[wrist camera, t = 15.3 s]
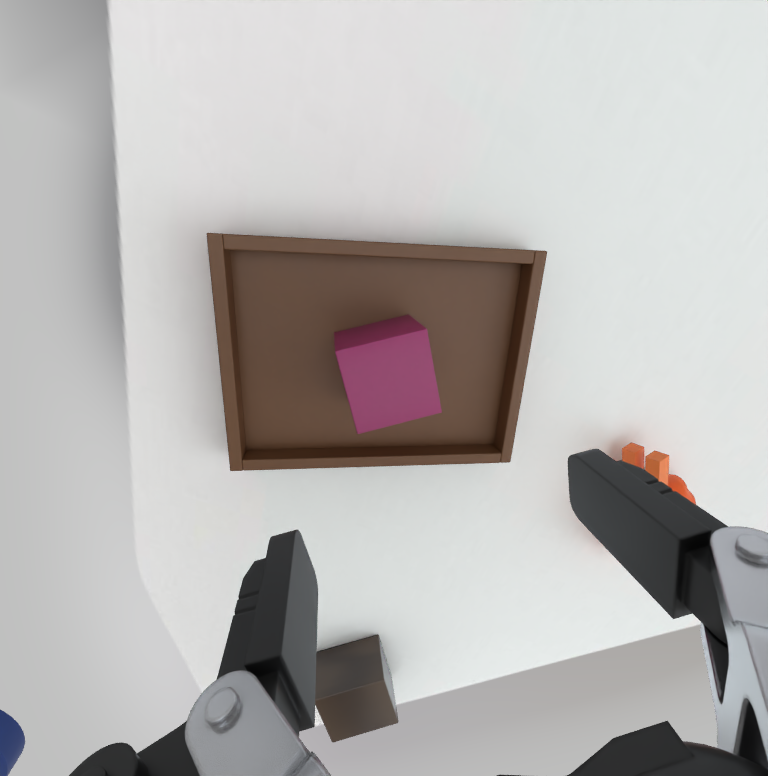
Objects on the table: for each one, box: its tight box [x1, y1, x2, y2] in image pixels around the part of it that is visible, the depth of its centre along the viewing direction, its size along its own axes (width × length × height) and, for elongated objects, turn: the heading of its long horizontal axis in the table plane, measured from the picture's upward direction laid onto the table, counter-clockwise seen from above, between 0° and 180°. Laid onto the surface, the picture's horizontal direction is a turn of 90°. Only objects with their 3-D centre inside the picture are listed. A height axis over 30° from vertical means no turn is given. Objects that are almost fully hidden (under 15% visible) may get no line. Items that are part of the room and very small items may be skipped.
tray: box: [207, 233, 547, 471], centre depth 25 cm, size 20×15×2 cm
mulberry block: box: [334, 314, 442, 434], centre depth 23 cm, size 5×5×5 cm
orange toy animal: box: [622, 443, 696, 505], centre depth 31 cm, size 5×8×12 cm
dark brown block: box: [315, 635, 398, 742], centre depth 34 cm, size 6×6×4 cm
